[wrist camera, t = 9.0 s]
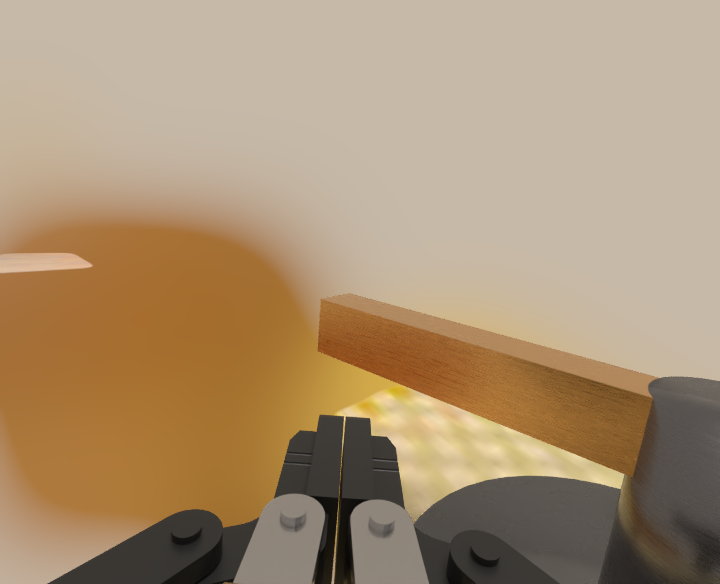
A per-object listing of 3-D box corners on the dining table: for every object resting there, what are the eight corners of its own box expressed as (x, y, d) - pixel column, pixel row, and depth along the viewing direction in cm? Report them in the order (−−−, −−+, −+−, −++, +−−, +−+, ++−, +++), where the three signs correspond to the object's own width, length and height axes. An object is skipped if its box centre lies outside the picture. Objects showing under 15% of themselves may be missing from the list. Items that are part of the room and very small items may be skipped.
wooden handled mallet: (780, 658, 16) (873, 420, 14) (807, 829, 12) (951, 515, 10) (355, 435, 29) (368, 289, 27) (287, 475, 24) (296, 303, 22)
